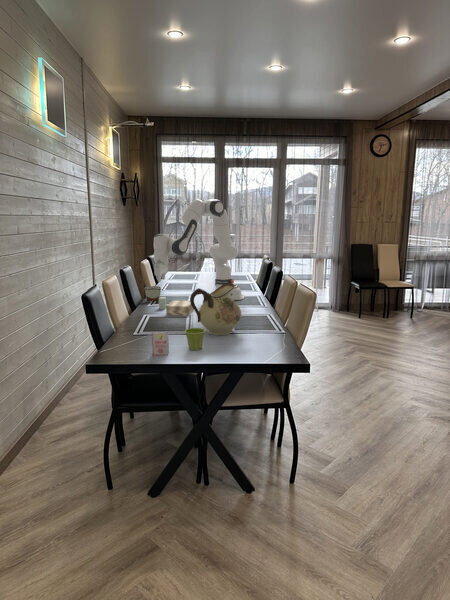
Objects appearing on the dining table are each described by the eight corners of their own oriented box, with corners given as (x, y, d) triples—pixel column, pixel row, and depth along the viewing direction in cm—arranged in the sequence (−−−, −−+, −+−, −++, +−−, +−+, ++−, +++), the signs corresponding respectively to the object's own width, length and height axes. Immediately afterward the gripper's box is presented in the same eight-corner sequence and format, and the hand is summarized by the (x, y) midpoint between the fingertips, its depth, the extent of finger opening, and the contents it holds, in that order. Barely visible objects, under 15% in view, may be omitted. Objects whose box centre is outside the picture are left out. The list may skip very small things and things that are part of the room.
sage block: (166, 307, 278) (166, 297, 276) (165, 308, 274) (164, 298, 273) (160, 307, 278) (160, 297, 277) (159, 308, 274) (158, 298, 273)
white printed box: (154, 352, 190) (153, 331, 188) (168, 352, 190) (168, 331, 188) (152, 355, 187) (151, 333, 184) (167, 355, 187) (167, 333, 184)
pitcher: (248, 329, 226) (248, 283, 221) (228, 341, 206) (227, 291, 200) (212, 324, 236) (211, 280, 231) (189, 335, 216) (187, 288, 211)
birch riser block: (193, 310, 272) (193, 300, 271) (188, 316, 256) (188, 306, 255) (172, 309, 274) (172, 300, 272) (166, 315, 258) (166, 306, 257)
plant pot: (181, 350, 193) (180, 332, 191) (191, 344, 202) (190, 326, 200) (199, 352, 189) (199, 334, 188) (208, 346, 198) (208, 329, 196)
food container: (163, 299, 301) (163, 286, 299) (161, 301, 295) (161, 287, 293) (147, 299, 302) (146, 285, 300) (144, 301, 297) (143, 287, 294)
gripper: (161, 261, 259) (162, 283, 262) (169, 257, 279) (170, 278, 282) (151, 260, 260) (152, 282, 262) (160, 257, 280) (160, 278, 282)
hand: (161, 280), depth 272 cm, fingers open, 8 cm apart
